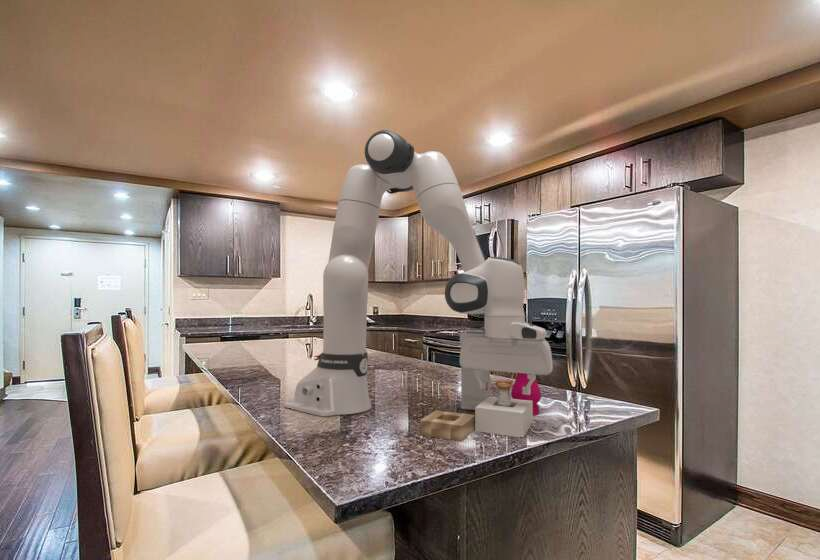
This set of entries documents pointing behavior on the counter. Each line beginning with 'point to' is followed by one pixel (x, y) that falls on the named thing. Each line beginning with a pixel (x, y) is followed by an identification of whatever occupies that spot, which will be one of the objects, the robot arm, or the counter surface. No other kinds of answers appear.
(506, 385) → the pin
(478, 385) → the supplement box
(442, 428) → the mount
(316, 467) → the counter surface
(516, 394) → the pepper mill
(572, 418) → the counter surface
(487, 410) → the dock
